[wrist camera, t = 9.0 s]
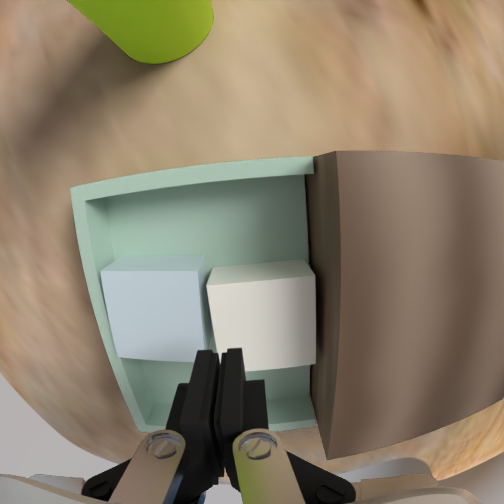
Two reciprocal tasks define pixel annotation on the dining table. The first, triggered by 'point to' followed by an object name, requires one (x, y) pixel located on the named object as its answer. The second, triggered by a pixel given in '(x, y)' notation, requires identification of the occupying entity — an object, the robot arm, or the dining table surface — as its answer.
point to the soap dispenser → (151, 25)
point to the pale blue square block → (158, 306)
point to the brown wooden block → (404, 294)
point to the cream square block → (265, 313)
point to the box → (196, 243)
